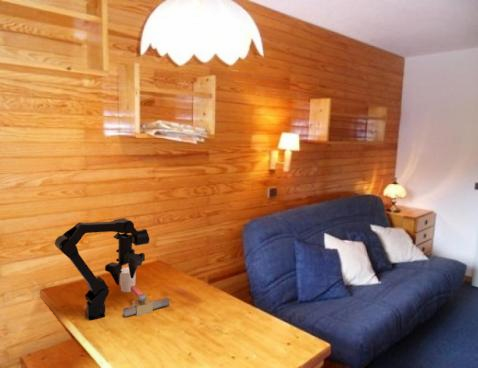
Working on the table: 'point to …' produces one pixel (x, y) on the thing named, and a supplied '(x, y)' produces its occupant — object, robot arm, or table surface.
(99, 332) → the table surface
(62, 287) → the table surface
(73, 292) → the table surface
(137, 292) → the lever
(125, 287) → the white cup
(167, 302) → the valve
